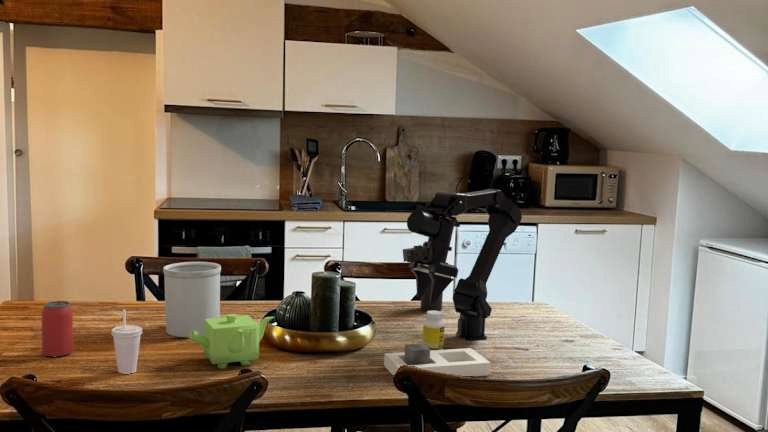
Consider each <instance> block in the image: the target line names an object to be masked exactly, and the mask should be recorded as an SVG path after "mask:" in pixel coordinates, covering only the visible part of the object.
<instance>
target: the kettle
mask: <svg viewBox="0 0 768 432" xmlns="http://www.w3.org/2000/svg"><path fill="white" fill-rule="evenodd" d="M274 318H275V316H267V317H264V318H262V320H261V321H260V323H258V322H257V321H255V320H254V319H253V318H252V317H251V316H250V315H248V314H246V315H245V314H244V315H237V314H235V313H230V314H226V315H225V316H222V317H221V316H220V318H209V319H204V336H202V335H201V334H199V333H197V332H196V331H192V332H191V333H190V335H189V337H188V339H190V340H191V341H193V342H195V343H197V344H198V345H200V346H201V347H203V354H204V355H205V357H207V359H208V360H209V361H210V363H211V364H212V365H213V366H214V365H217V367H216V368H218V369H226V368H228V364H229V363H236V362H237V363H239V362H240V365H241V366H244V365H247V366H250V365H251V362H250V361H255V360H260V359H259V358H260V342H261V340H262V339H263V337H264V333H265V330H266V327H267V324H268V323H269V322H270V321H271V320H272V319H274Z"/></svg>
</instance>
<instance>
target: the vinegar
mask: <svg viewBox="0 0 768 432" xmlns="http://www.w3.org/2000/svg"><path fill="white" fill-rule="evenodd" d="M429 273H432V272H429ZM432 274H435V272H434V273H432ZM431 285H432V281H431V282H430V284H429V286H428V288H427V289H426V291H425V293H424V295H423V296H422V298H421V299H420V309H421V310H422V311H424V312H427V311H432V310H434V311H440V312H441V311H442V310H443V293H444V291H443V292H442V294H441V295H440V296H439V298H438V299H437V300H436V302H435V303H431V302H430V295H431Z"/></svg>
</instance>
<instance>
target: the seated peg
mask: <svg viewBox="0 0 768 432" xmlns="http://www.w3.org/2000/svg"><path fill="white" fill-rule="evenodd" d="M404 352H405V354H404V362H405V363H406V364H407V365H419V364H430V349H429V348H428V347H427V346H425V345H424V344H422V343H412V344H411V343H410V344H408V343H407V344H404Z"/></svg>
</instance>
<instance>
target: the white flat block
mask: <svg viewBox="0 0 768 432" xmlns="http://www.w3.org/2000/svg"><path fill="white" fill-rule="evenodd" d="M404 354H405V351H404V352H388V353H386V352H385V353H384V362H383V365H384V367H385V368H386V370H388V372H389V374H391V375H392V376H393V375H394V374H395V373H396V371H397V370H398V368H399V367H400V366H403V365H407V364H406V363H405V362H404ZM491 365H492V363H491V361H489V360H488V359H487V358H485V357H484V356H482V355H481V354H480V353H479V352H477V351H475V350H474V349H472V348H470V347H468V348H467V347H466V348H454V349H453V348H451V349H449V348H448V349H443V350H433V351H430V364H419V365H408V366H415V367H418V368H421V369H425V370H430V371H435V372H441V373H446V374H454V375H462V376H474V377H485V376H490V375H491Z"/></svg>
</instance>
